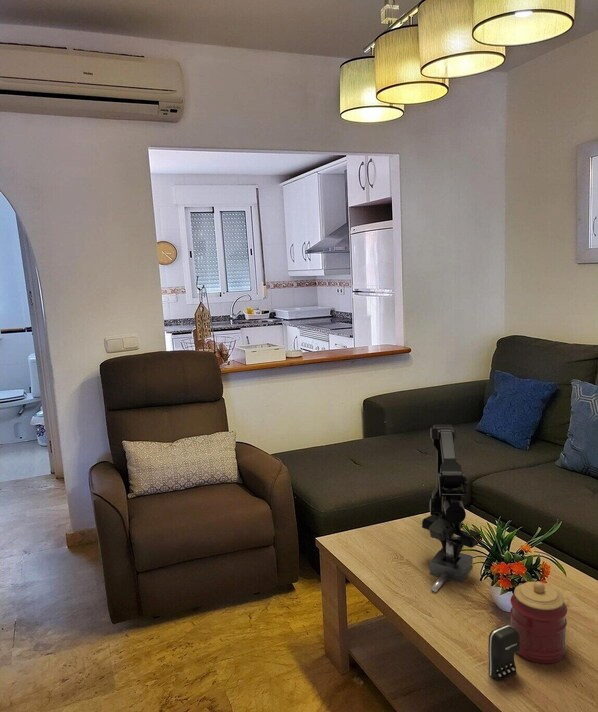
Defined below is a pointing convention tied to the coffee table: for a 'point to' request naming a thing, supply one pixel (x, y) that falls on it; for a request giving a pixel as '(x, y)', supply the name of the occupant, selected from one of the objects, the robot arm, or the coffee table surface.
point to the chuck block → (449, 568)
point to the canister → (539, 622)
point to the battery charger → (503, 652)
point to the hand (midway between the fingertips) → (451, 555)
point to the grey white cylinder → (450, 550)
